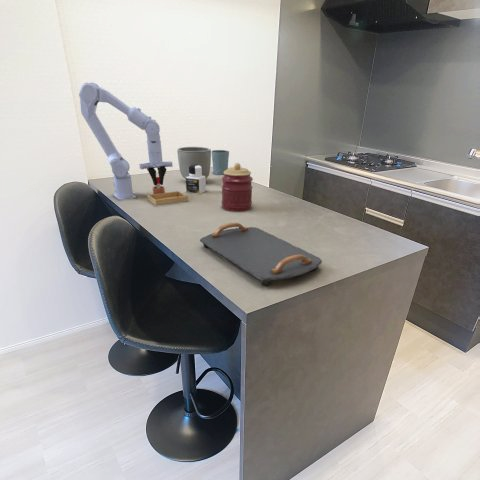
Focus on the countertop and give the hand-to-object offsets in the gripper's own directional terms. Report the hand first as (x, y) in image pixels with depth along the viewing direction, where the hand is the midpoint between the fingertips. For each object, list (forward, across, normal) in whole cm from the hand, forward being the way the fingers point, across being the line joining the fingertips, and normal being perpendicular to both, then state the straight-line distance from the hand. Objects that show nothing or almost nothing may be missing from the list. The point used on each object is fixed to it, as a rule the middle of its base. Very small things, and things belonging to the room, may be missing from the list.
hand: (158, 184), depth 160 cm
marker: (+5, 0, 0) cm, 5 cm away
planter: (+6, +28, +19) cm, 34 cm away
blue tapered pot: (+6, +51, +33) cm, 61 cm away
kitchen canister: (+6, +23, -31) cm, 39 cm away
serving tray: (+6, 0, -79) cm, 79 cm away
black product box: (+6, +19, 0) cm, 20 cm away
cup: (+5, 0, 0) cm, 5 cm away
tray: (+5, 0, -9) cm, 10 cm away
